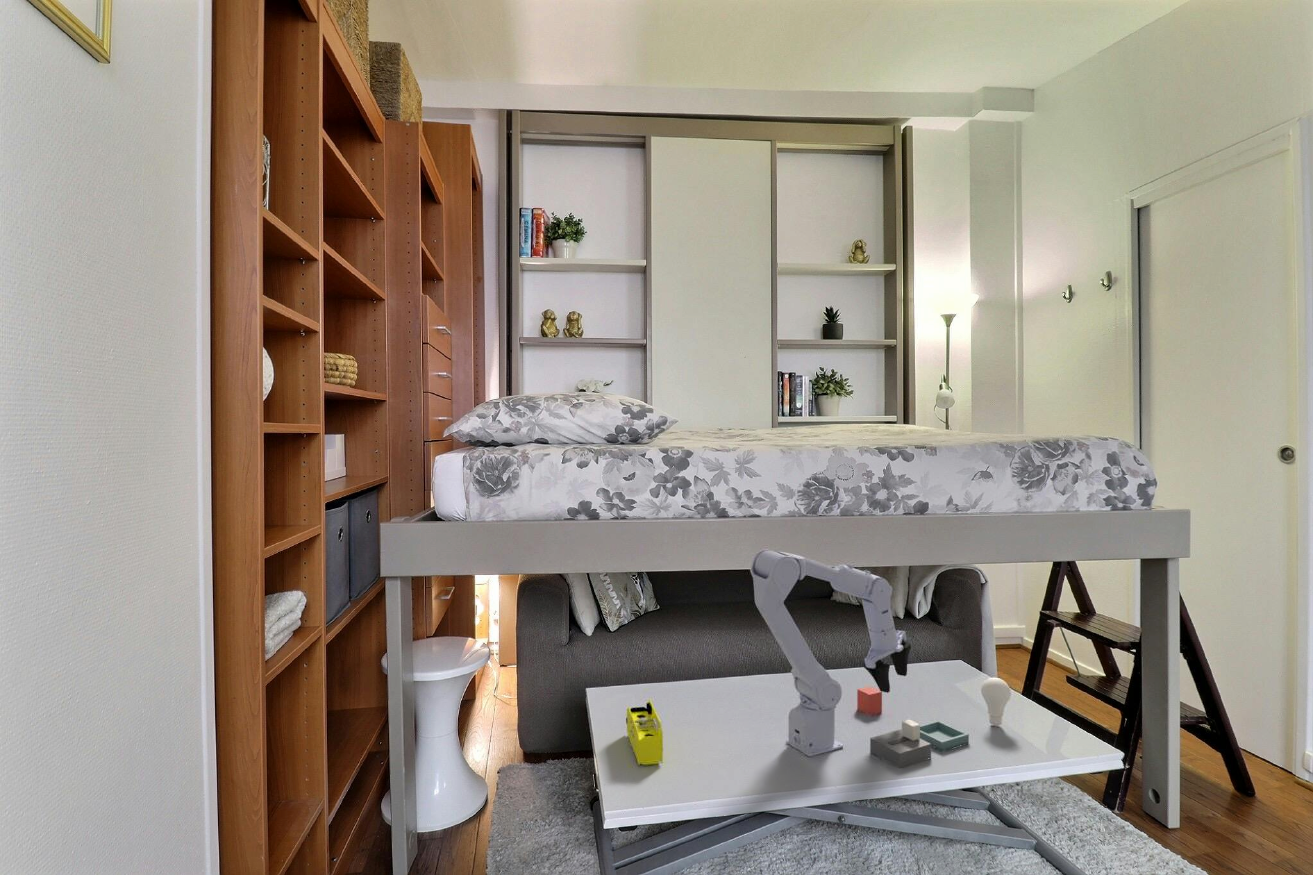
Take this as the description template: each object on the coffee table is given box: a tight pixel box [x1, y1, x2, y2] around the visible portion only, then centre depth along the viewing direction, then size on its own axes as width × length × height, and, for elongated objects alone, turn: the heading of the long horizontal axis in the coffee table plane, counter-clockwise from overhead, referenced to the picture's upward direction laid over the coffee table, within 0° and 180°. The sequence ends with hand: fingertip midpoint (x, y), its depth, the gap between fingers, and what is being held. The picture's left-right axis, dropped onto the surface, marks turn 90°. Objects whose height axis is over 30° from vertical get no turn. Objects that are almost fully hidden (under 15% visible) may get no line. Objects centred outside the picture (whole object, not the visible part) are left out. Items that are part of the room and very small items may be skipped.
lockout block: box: [856, 686, 883, 716], centre depth 173 cm, size 4×4×5 cm
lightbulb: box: [980, 676, 1012, 727], centre depth 165 cm, size 6×6×11 cm
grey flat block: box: [869, 728, 932, 769], centre depth 151 cm, size 9×8×3 cm
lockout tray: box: [920, 720, 970, 752], centre depth 158 cm, size 8×8×2 cm
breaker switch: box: [901, 718, 921, 741], centre depth 152 cm, size 2×3×3 cm, turn 28°
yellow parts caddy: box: [625, 698, 664, 766], centre depth 153 cm, size 16×6×8 cm, turn 11°
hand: (893, 682), depth 162 cm, fingers open, 7 cm apart
